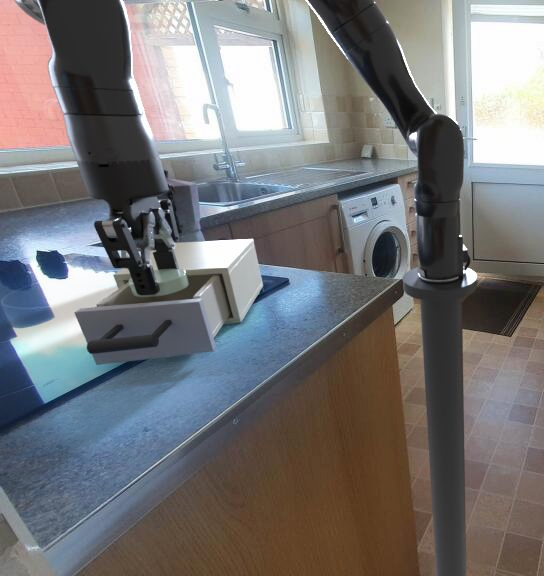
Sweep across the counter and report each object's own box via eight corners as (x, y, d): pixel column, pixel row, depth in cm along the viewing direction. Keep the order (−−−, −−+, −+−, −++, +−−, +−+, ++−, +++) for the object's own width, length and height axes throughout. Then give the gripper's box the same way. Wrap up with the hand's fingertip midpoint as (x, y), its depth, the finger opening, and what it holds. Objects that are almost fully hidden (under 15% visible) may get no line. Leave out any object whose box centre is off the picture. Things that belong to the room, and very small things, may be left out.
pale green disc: (195, 278, 59) (192, 267, 59) (179, 294, 54) (175, 282, 53) (145, 282, 57) (141, 270, 57) (123, 299, 52) (118, 286, 52)
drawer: (197, 375, 50) (181, 321, 47) (66, 392, 46) (39, 335, 43) (242, 306, 68) (232, 264, 65) (150, 315, 64) (135, 270, 61)
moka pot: (210, 255, 93) (186, 165, 86) (227, 274, 83) (201, 173, 75) (157, 264, 87) (126, 167, 79) (167, 285, 77) (133, 176, 69)
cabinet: (241, 322, 65) (227, 267, 61) (134, 333, 60) (112, 274, 57) (263, 285, 78) (253, 239, 75) (177, 292, 74) (162, 243, 71)
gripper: (112, 150, 54) (151, 269, 61) (36, 161, 42) (95, 310, 48) (180, 151, 56) (210, 265, 63) (126, 162, 44) (171, 303, 50)
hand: (160, 284), depth 56 cm, fingers closed on pale green disc, 6 cm apart
